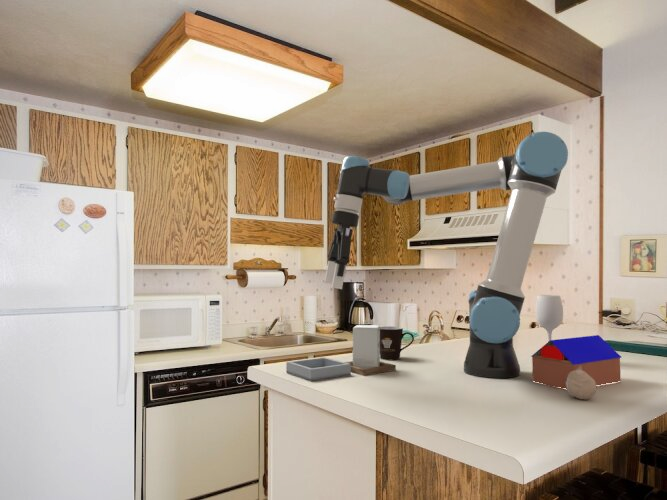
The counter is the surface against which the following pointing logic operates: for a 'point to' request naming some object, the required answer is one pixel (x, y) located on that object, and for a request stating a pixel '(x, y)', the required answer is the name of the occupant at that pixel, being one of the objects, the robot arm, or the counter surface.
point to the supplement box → (366, 346)
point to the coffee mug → (391, 342)
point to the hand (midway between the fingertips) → (332, 285)
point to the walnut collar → (383, 368)
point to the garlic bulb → (580, 384)
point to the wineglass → (549, 312)
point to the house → (576, 361)
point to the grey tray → (318, 368)
